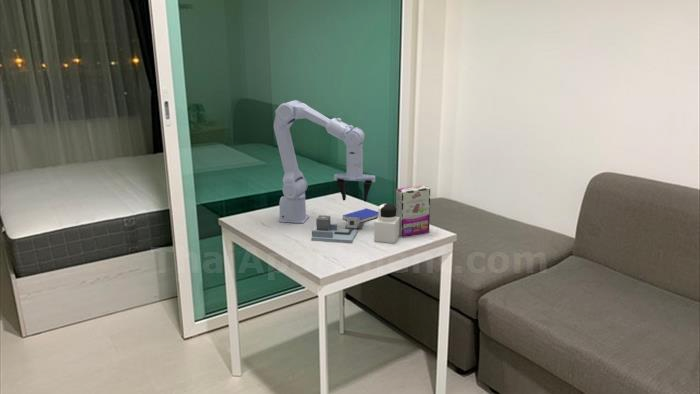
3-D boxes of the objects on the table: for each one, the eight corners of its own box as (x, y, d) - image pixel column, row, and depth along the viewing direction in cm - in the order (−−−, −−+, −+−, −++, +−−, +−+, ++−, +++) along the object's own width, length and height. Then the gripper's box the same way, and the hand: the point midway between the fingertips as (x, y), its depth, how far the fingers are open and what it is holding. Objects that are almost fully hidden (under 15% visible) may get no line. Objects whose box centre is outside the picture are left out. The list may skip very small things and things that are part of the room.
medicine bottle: (399, 236, 183) (400, 203, 179) (394, 243, 177) (395, 209, 173) (379, 233, 185) (380, 201, 182) (373, 241, 179) (374, 207, 175)
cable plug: (350, 216, 192) (347, 217, 186) (359, 217, 191) (356, 218, 185) (349, 226, 192) (346, 227, 186) (359, 227, 191) (356, 228, 185)
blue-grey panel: (311, 240, 180) (311, 232, 179) (320, 227, 192) (320, 219, 191) (351, 243, 177) (351, 234, 176) (358, 229, 189) (358, 221, 188)
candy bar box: (422, 228, 190) (423, 184, 185) (429, 232, 186) (431, 188, 181) (394, 232, 186) (395, 188, 181) (401, 237, 182) (402, 192, 177)
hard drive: (357, 219, 193) (381, 212, 202) (342, 214, 199) (365, 207, 207) (357, 223, 194) (381, 216, 202) (342, 218, 200) (365, 211, 208)
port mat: (345, 228, 190) (345, 227, 190) (348, 222, 196) (348, 222, 196) (361, 229, 189) (361, 228, 189) (364, 223, 195) (364, 223, 195)
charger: (316, 234, 183) (316, 219, 181) (319, 230, 186) (319, 215, 185) (328, 234, 182) (327, 219, 180) (330, 230, 186) (330, 215, 184)
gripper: (331, 165, 183) (332, 202, 187) (373, 166, 180) (373, 204, 185) (336, 160, 190) (336, 196, 194) (376, 162, 187) (376, 198, 191)
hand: (354, 200), depth 190 cm, fingers open, 7 cm apart
